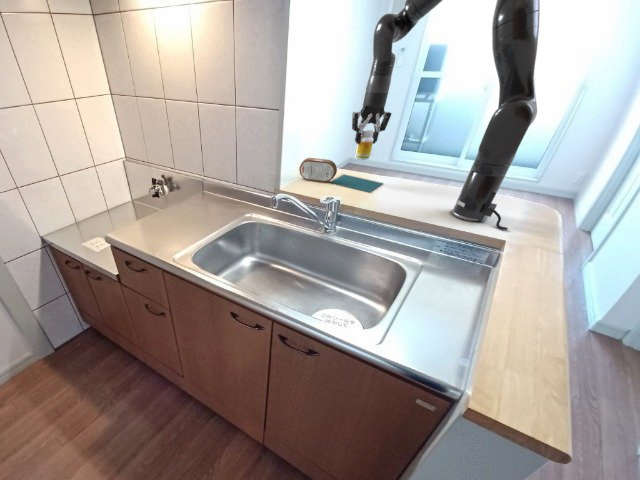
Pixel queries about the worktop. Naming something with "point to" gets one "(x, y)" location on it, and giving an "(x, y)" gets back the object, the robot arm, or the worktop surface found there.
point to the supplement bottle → (364, 145)
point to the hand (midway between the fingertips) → (365, 143)
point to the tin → (318, 169)
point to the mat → (356, 183)
